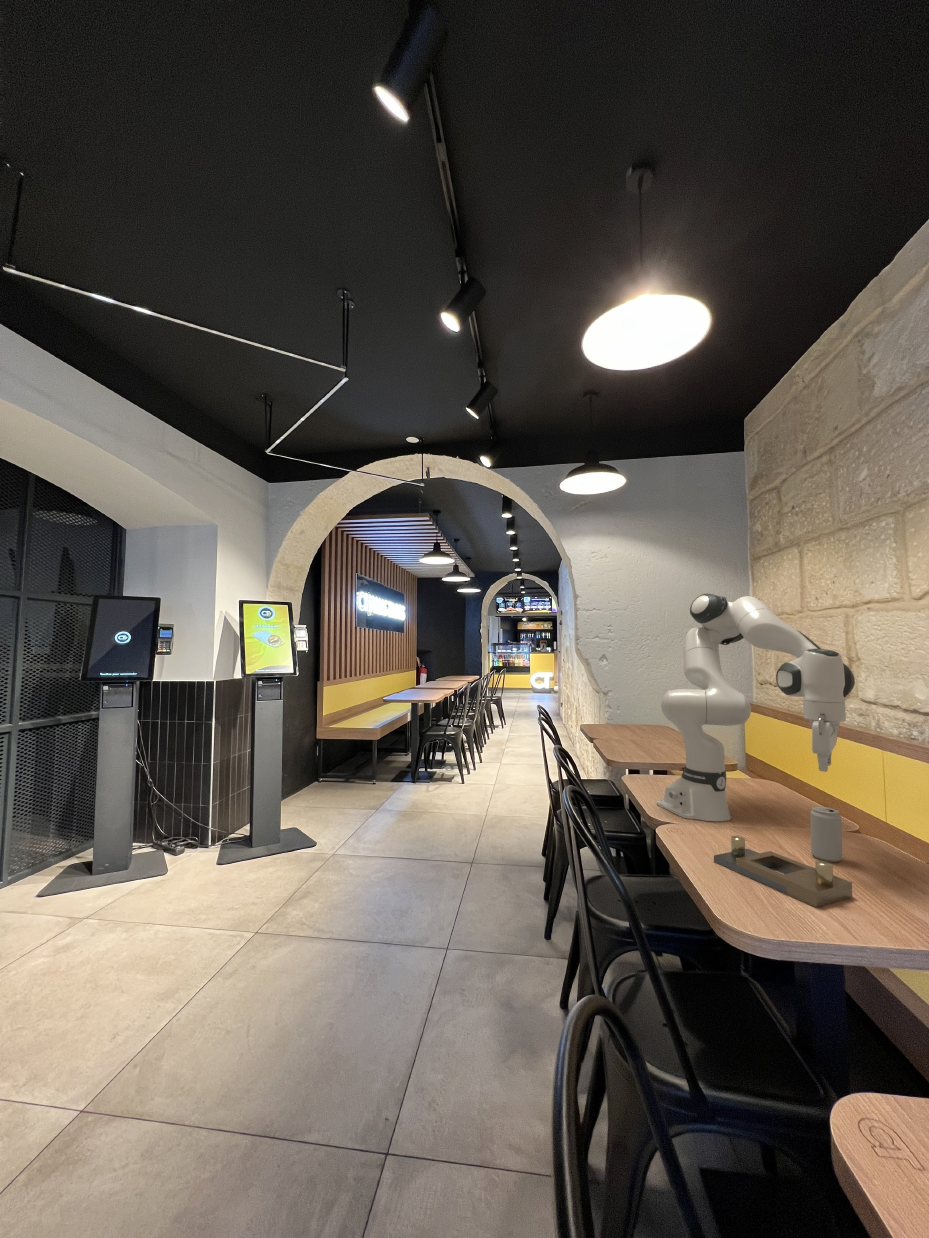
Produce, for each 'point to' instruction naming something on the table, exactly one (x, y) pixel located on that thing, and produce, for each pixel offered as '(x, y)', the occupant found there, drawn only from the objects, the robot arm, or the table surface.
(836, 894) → the plate with brass posts
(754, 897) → the table surface
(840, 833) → the beverage can
